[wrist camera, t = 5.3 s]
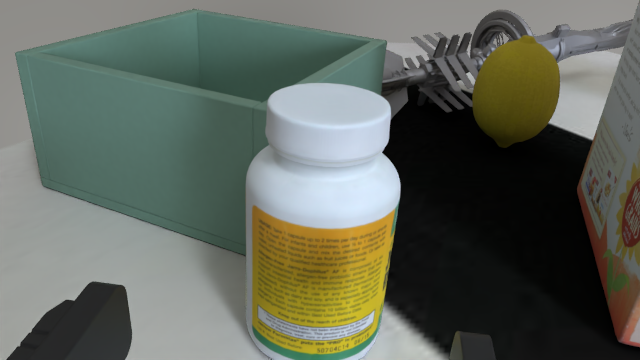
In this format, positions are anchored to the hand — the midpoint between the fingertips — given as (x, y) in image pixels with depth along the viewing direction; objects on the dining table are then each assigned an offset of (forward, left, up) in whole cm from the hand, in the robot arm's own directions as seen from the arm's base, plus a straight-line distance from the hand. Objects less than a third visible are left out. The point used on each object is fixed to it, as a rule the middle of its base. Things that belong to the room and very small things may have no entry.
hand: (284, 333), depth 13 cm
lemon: (+2, +30, -6) cm, 30 cm away
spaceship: (0, +39, -6) cm, 40 cm away
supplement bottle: (-2, +7, -6) cm, 9 cm away
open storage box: (-13, +17, -6) cm, 22 cm away
